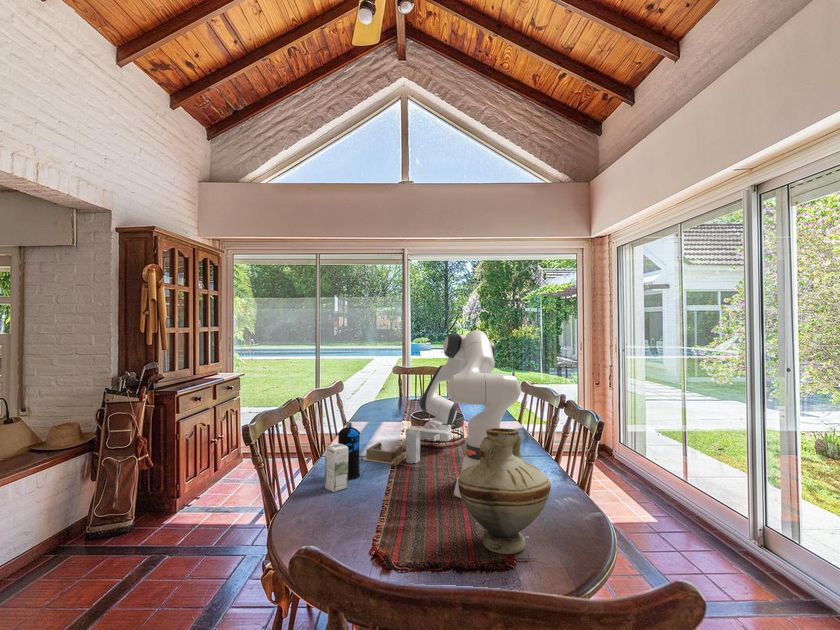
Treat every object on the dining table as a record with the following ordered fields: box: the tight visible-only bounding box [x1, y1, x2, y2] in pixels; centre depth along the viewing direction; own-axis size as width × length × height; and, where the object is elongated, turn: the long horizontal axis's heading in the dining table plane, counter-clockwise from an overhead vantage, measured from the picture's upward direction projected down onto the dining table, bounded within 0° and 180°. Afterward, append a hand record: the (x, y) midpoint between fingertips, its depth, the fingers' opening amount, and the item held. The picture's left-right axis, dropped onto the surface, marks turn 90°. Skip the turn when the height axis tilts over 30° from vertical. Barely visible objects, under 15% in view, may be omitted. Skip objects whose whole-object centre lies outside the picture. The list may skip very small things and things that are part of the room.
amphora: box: [457, 427, 552, 555], centre depth 118 cm, size 24×24×30 cm
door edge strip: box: [392, 451, 406, 467], centre depth 186 cm, size 16×1×2 cm, turn 159°
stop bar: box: [405, 430, 421, 464], centre depth 184 cm, size 4×4×12 cm
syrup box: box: [324, 443, 349, 493], centre depth 155 cm, size 6×6×14 cm
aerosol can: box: [337, 420, 361, 481], centre depth 167 cm, size 8×8×20 cm
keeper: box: [361, 442, 405, 465], centre depth 190 cm, size 14×14×4 cm
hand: (422, 437), depth 194 cm, fingers open, 8 cm apart
